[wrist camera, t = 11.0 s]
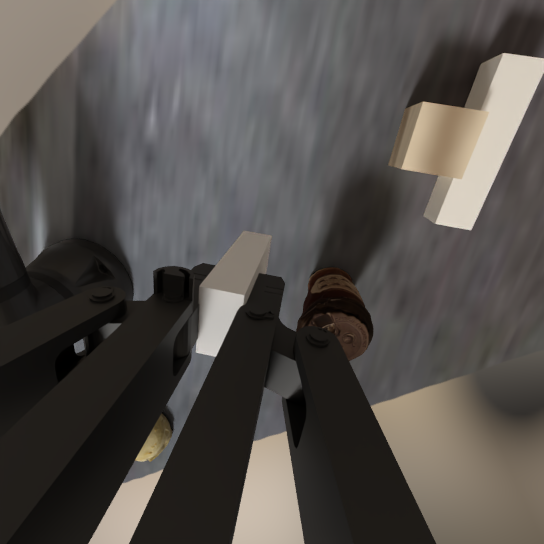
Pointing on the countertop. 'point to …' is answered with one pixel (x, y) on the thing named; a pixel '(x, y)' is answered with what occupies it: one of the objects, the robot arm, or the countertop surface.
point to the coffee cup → (337, 310)
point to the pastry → (156, 440)
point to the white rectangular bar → (487, 136)
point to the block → (437, 139)
